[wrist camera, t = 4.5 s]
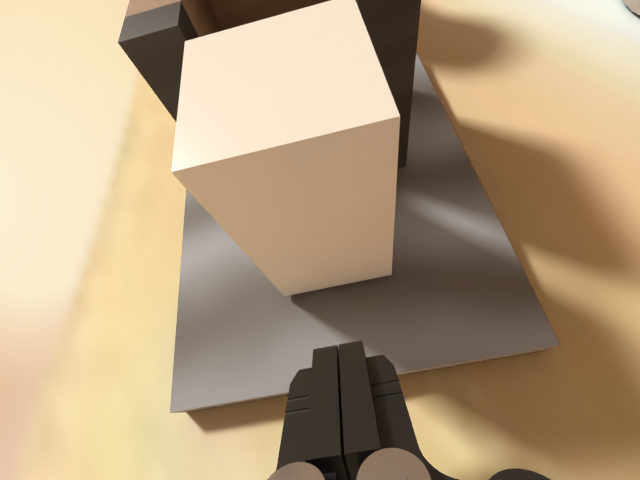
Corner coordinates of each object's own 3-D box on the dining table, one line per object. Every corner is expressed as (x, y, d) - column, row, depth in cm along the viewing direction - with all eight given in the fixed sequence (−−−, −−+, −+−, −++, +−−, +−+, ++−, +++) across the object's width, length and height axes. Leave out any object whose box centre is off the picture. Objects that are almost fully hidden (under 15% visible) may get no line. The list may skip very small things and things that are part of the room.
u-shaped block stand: (546, 349, 13) (905, 223, 4) (185, 412, 15) (-146, 422, 6) (411, 61, 23) (429, -170, 14) (200, 115, 24) (89, -61, 15)
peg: (391, 274, 14) (400, 115, 7) (284, 296, 15) (171, 171, 7) (367, 187, 17) (353, -6, 9) (275, 208, 17) (184, 41, 9)
